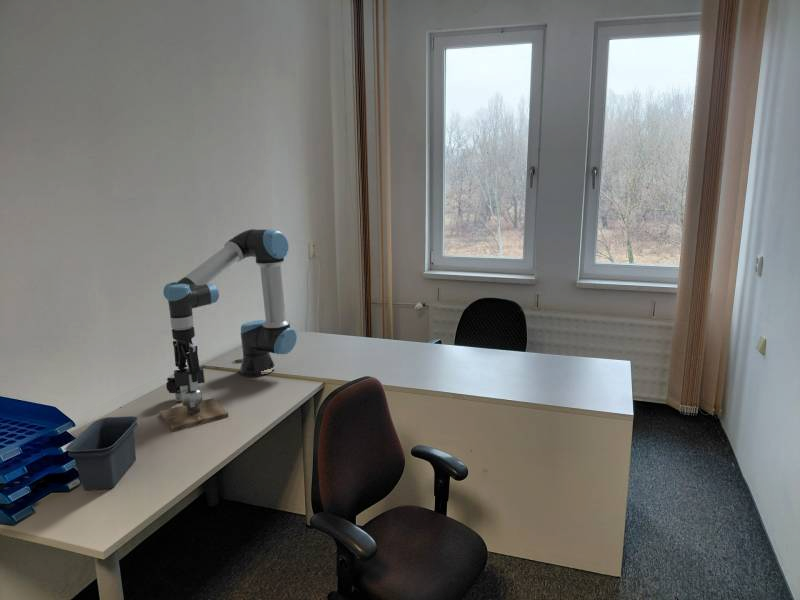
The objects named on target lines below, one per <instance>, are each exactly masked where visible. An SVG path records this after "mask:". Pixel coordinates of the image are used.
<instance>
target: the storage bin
mask: <svg viewBox="0 0 800 600" xmlns="http://www.w3.org/2000/svg"><path fill="white" fill-rule="evenodd" d="M138 420H139V418H138V417H137V416H133V415H131V416H128V415H127V416H112V417H111V416H110V417H103V418H99V419H97V420H95V421H93V422H92V423H91V424H90V425H89V426H88V427H86V428H85V430H83V431H82V432H81V433H80V434H79V435H77V437H76V438H74V441H73V440H72V441H71V442H70V443H69V444H68V445H67V446H66V447H65V450H66V451H68V454H67V455H68V457H71V458H73V459H74V463H75V465H76V469H77V472H78V475H79V479H80V481H81V482H80V483H81V485H82V488H83V490H85V491H91V490H90V489H99V490H110V488H111V489H114V488H115V486H116V485H117V484H118V483H119V482H120V480H121V479H122V478H123V476H125V474H126V473H127V472H128V470H130V468H131V467H132V466H133V464H134V463H135V462H136V460H137V457H136V441H135V429H136V428H137V426H138Z"/></svg>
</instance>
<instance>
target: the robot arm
mask: <svg viewBox="0 0 800 600" xmlns="http://www.w3.org/2000/svg"><path fill="white" fill-rule="evenodd" d="M223 245H224V246H223V248H221V249H220V250H218V251H216V253H214V254H213V255H212V256H211V257H209V258H207V259H206V260H205V261H204V262H202V263H201V264H199V265H198V266H197V267H196V268H195V269H193V270H192V271H190V272H189V273H188V274H186V275H185V276H184V277H181V279H180V280H178V281H177V282H176V281H173V282H172V281H171V282H169V283H167V284H165V285H164V287H163V290H162V292H163V296H164V298H165V299H166V301H167V304H168V309H169V316H170V317H169V319H170V328H172V329H171V334H172V339H173V340H172V345H173V352H174V353H173V354H174V363H175V368H176V367H177V370H181V369H188V368H189V372H190V373H188V375H189V382H190V391H194V390H197V389H198V387H199V384H198V381H197V372H200V367H201V366H200V362H199V355H198V346H197V345H193V340H192V339H194V337H195V336H196V332H195V327H194V316H193V313H194V312H193V309H197V308H200V307H205V306H209V305H212V304H214V303H217V302H218V301H219V298H220V290H219V289H218V287H217V286H216V285H215V284H213V283H210V282H212V281H213V280H214V279H216V278H217V277H218V276H219V275H221V274H222V273H223V272H224V271H226V270H228V268H230V267H231V266H233V264H235V263H236V262H238V263H240V262H241V261H242V260H244V259H245V258H246V259H247V258H250V257H253V258H255V263H256V265H257V266H259V268H260V269H259V270H260V277H261V278H260V279H261V285H262V286H261V287H262V297H263V306H264V318H265V319H259V320H252V321H249V322H244V323H243V324H242V325H240V339H241V348H242V361H241V364H240V374H241V375H242V376H245V377H260V376H261V375H262V374H261V371H264V370H267V369H271V368H273V367H274V366H275V363H274V360H273V358H272V355H271V354H276V355H287V354H289V353H291V351H293V350H294V348H295V346H296V344H297V338H298V337H297V336H298V335H297V332H296V331H295V330H294V328H292V327H291V324H290V320H288V319H287V318H286V306H285V295H284V285H283V284H284V283H283V275H282V264H283V263H284V262H285V257H286V256H287V255H288V252H289V241H288V239H287V237H286V235H285V234H284V233H283V232H281V231H280V230H273V229H255V228H253V229H252V228H251V229H248V230H244V231H241V232H240V233H238V234H237V235H235V236H234V237H232V238H230V239H229V240H228V241H226V242H225V243H224V244H223ZM270 353H271V354H270ZM262 376H263V375H262ZM186 386H187V385H186ZM181 387H184V386H181Z"/></svg>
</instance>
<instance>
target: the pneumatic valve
mask: <svg viewBox="0 0 800 600" xmlns="http://www.w3.org/2000/svg"><path fill="white" fill-rule="evenodd" d="M166 380H167V382H166V383H165V385H166V390H167V391H168V393H169V394H174V395H175V401H176V402H182V396H181V391H182V390H184V389H186V388H187V386H184V387H181V386H179V387H176V386H175V378H174V373H172V374H170V376H168V377H167V379H166Z"/></svg>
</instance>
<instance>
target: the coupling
mask: <svg viewBox="0 0 800 600" xmlns="http://www.w3.org/2000/svg"><path fill="white" fill-rule="evenodd" d="M199 367H200V372H197V381H198V385H199V384H204V383H205V375H204V366H199ZM188 373H190V372H189V368H188V367H187V369H181V370H180V369H174V370H173V374H174V378H175V386H176V387H179V386H186V385H187V388H186V389H184V390H182V391H181V396H182V401H181V403H182V406H183V405H184V406H190V407H195V405H198V404H200V403H202V401H203V393H202V392H203V391H202V388H201V387H199V386H198V389H197V390H194V391H190V382H189V375H188Z"/></svg>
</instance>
